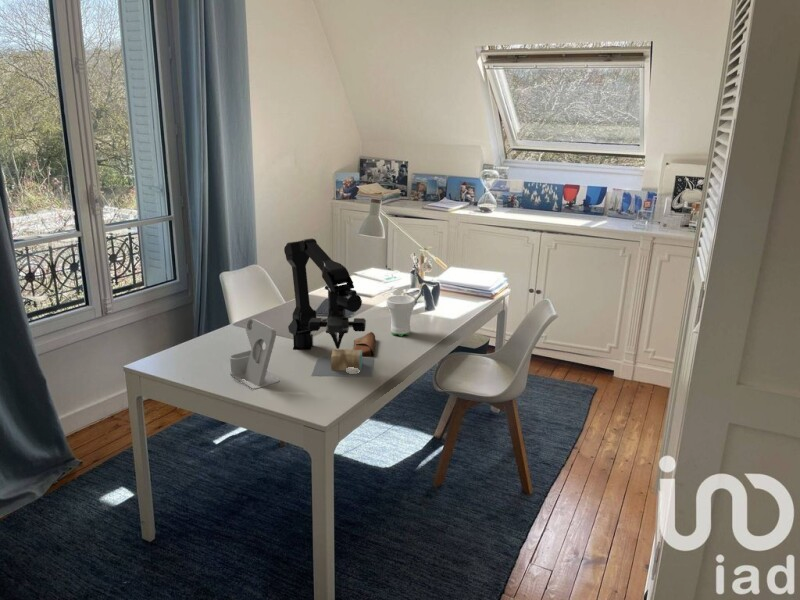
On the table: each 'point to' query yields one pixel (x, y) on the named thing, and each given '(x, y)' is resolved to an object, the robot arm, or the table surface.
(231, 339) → the table surface
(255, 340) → the phone holder
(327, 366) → the rubber mat
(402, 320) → the cup
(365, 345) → the sunglasses case
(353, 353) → the oak block
